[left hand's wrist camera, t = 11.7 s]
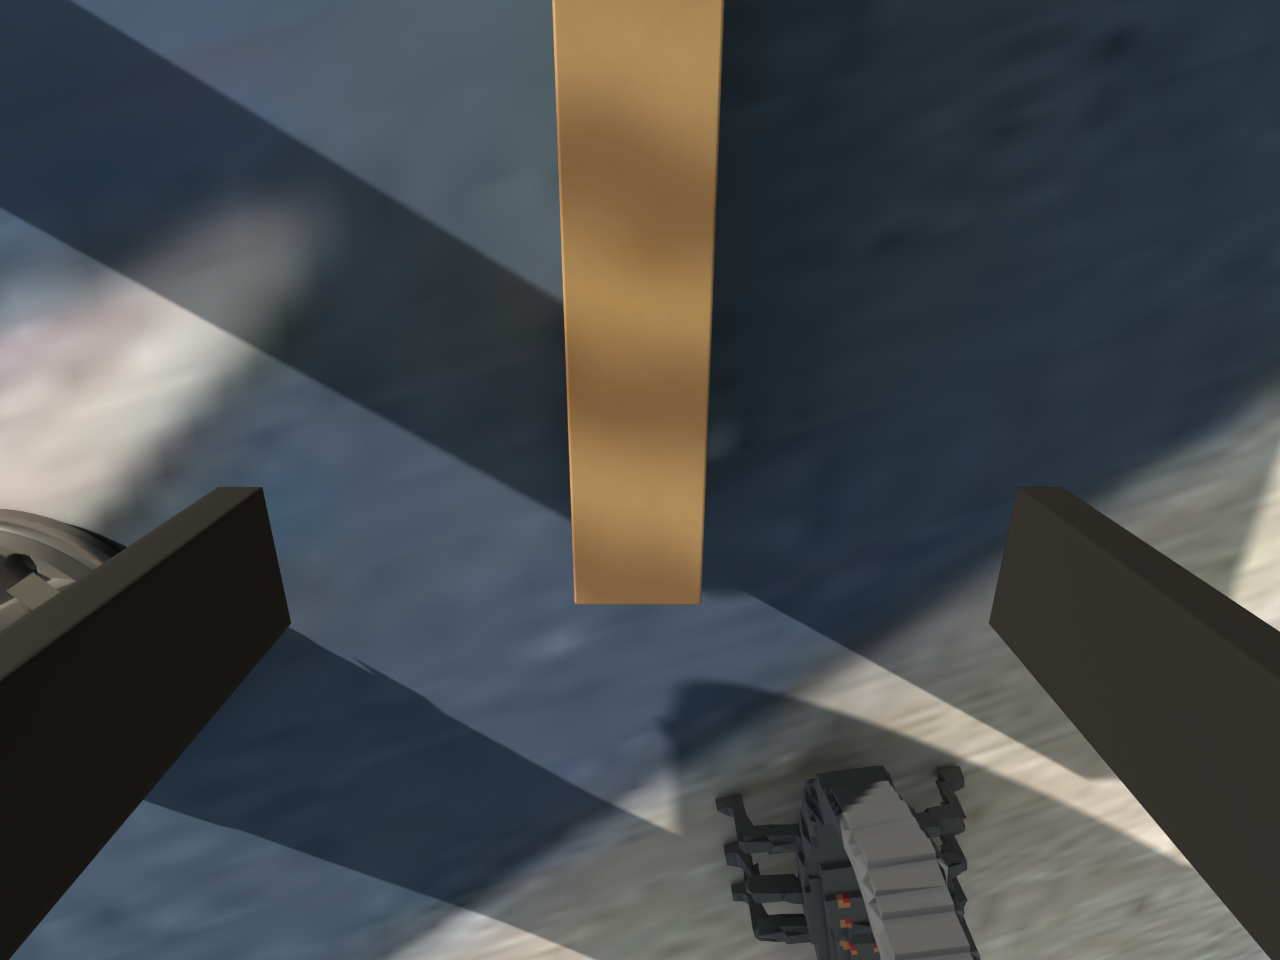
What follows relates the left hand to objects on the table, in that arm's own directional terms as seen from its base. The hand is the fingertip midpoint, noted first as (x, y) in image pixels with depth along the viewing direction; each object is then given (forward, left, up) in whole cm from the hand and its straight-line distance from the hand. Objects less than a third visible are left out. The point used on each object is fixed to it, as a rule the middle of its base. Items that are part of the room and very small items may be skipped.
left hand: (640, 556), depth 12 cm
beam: (+9, +27, -19) cm, 34 cm away
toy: (+2, -31, -19) cm, 36 cm away
